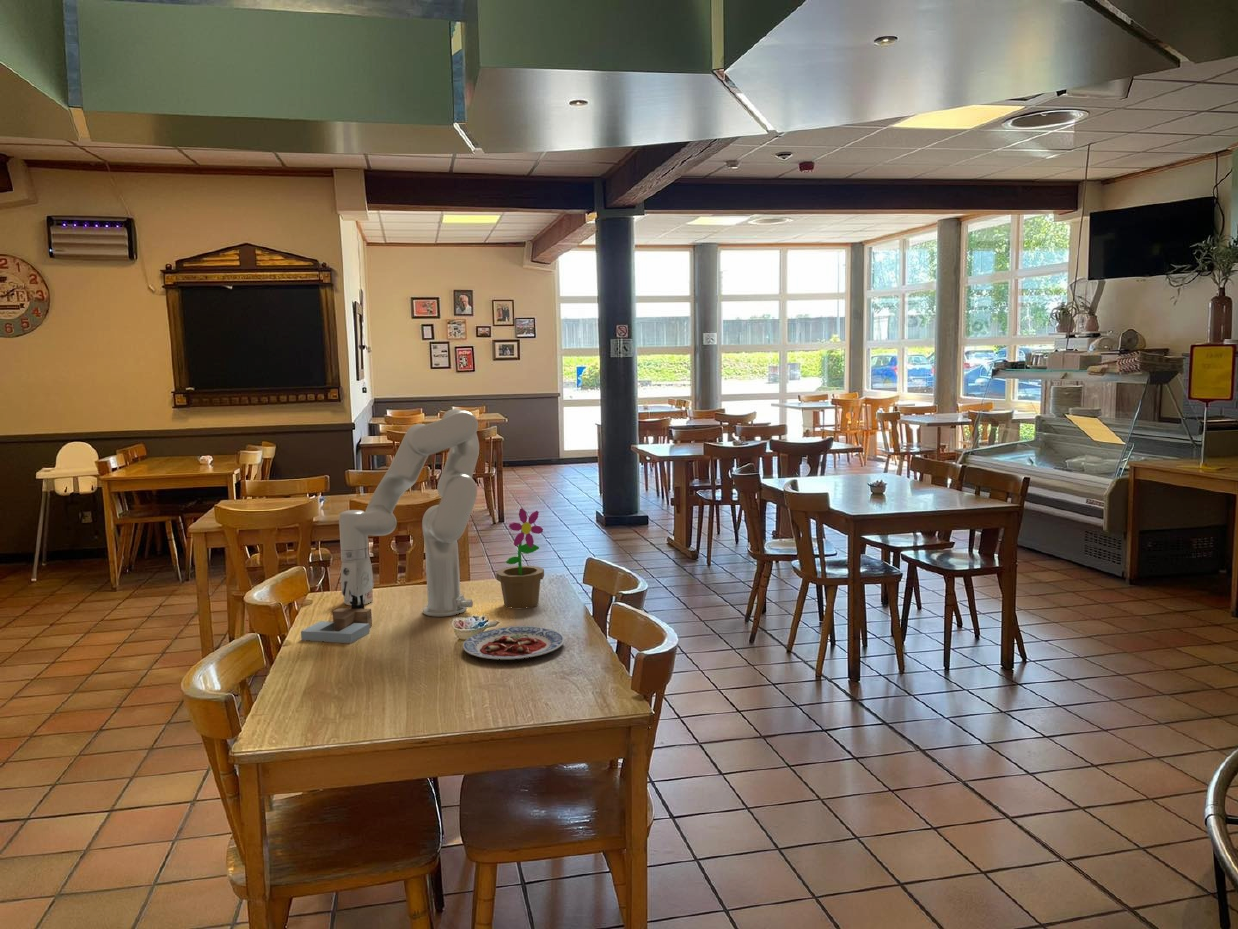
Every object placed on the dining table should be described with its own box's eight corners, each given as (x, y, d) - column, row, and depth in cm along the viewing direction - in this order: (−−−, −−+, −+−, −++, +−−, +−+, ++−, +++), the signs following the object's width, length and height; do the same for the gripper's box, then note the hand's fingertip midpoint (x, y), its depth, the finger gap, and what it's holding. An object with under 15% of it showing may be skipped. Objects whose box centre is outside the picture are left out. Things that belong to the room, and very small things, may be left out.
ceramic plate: (540, 671, 214) (539, 658, 214) (444, 662, 223) (443, 650, 222) (579, 638, 239) (579, 627, 238) (491, 631, 247) (491, 620, 247)
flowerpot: (516, 613, 262) (512, 512, 259) (488, 604, 273) (483, 506, 269) (554, 603, 272) (551, 505, 268) (526, 595, 282) (522, 500, 279)
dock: (369, 632, 248) (369, 623, 247) (351, 643, 238) (350, 634, 238) (321, 629, 251) (320, 621, 251) (301, 640, 242) (300, 631, 242)
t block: (372, 626, 254) (371, 608, 253) (358, 637, 244) (356, 619, 243) (338, 625, 255) (337, 608, 254) (322, 636, 245) (321, 618, 244)
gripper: (352, 560, 246) (355, 626, 248) (380, 549, 260) (383, 611, 263) (328, 559, 248) (331, 624, 250) (357, 548, 262) (360, 609, 264)
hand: (358, 617), depth 256 cm, fingers closed
